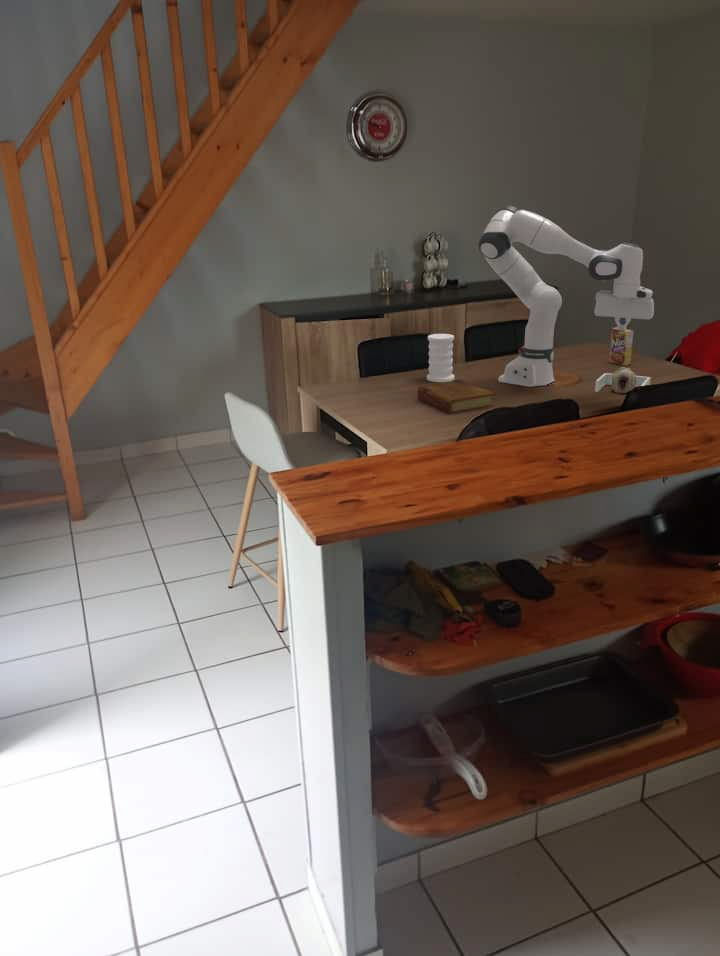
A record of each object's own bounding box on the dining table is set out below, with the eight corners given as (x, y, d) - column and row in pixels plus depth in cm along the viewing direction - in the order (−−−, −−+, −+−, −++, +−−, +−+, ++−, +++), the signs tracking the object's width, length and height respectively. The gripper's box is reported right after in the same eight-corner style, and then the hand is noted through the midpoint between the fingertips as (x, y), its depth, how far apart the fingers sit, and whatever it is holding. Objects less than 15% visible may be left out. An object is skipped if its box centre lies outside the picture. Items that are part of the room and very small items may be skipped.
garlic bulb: (611, 395, 289) (606, 370, 289) (632, 391, 290) (626, 366, 289) (620, 394, 280) (615, 368, 279) (642, 389, 280) (637, 363, 280)
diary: (417, 401, 285) (417, 386, 283) (458, 393, 293) (458, 379, 290) (449, 415, 266) (450, 399, 264) (493, 407, 273) (493, 392, 271)
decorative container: (440, 383, 306) (441, 340, 299) (421, 378, 314) (421, 336, 307) (460, 378, 312) (460, 335, 306) (440, 374, 321) (440, 332, 314)
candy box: (608, 362, 331) (611, 328, 325) (615, 361, 333) (618, 326, 327) (623, 366, 324) (627, 331, 318) (630, 364, 325) (634, 329, 320)
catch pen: (594, 392, 286) (595, 380, 285) (603, 383, 297) (604, 372, 296) (642, 397, 278) (643, 385, 276) (649, 388, 289) (651, 377, 287)
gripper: (594, 290, 266) (590, 329, 271) (654, 293, 256) (648, 333, 261) (598, 288, 271) (594, 326, 276) (657, 291, 261) (652, 330, 266)
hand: (621, 330), depth 268 cm, fingers closed
